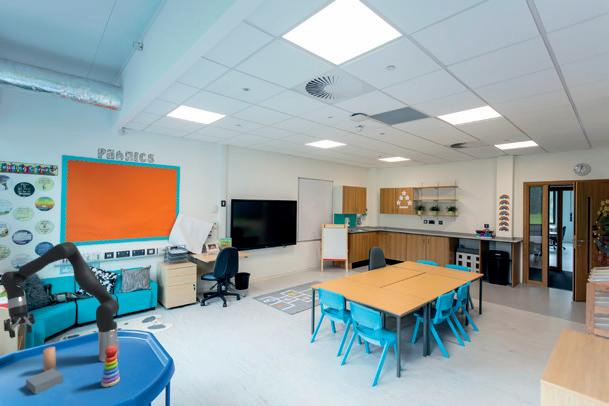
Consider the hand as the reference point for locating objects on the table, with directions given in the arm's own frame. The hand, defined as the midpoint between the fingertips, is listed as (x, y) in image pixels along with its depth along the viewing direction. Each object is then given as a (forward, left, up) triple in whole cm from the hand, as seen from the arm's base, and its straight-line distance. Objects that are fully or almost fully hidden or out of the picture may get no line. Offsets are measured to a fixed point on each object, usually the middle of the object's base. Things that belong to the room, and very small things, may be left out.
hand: (21, 335), depth 166 cm
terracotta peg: (-6, +17, -18) cm, 26 cm away
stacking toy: (-17, +57, -18) cm, 62 cm away
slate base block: (0, +29, -18) cm, 35 cm away
